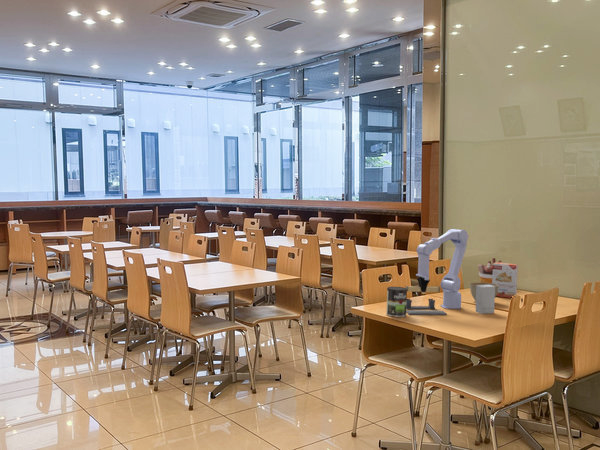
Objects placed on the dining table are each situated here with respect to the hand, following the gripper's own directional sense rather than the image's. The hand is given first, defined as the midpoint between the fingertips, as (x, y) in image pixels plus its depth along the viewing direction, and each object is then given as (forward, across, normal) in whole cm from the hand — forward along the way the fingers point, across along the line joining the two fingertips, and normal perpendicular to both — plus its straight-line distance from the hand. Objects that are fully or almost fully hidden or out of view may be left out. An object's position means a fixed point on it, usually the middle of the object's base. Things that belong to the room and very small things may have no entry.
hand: (422, 291), depth 307 cm
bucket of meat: (+10, -74, +67) cm, 100 cm away
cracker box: (+10, -44, +64) cm, 78 cm away
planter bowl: (+11, -23, +43) cm, 50 cm away
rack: (+10, -5, 0) cm, 11 cm away
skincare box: (+11, +4, +33) cm, 35 cm away
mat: (+10, +7, 0) cm, 13 cm away
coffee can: (+11, +12, -17) cm, 23 cm away
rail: (0, 0, 0) cm, 0 cm away
